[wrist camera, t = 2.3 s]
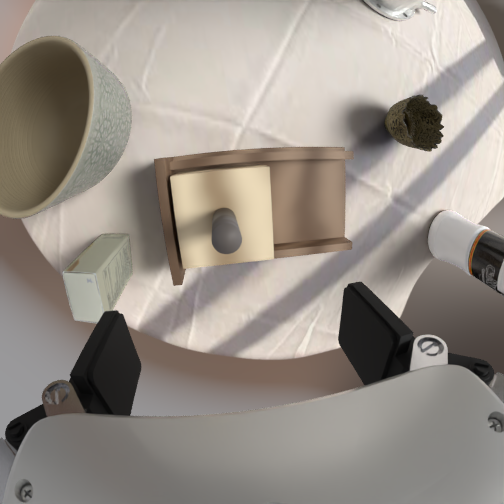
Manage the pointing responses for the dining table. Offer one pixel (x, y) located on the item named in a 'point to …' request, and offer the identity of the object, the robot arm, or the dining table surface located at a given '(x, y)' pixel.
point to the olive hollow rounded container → (415, 123)
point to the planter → (57, 124)
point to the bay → (274, 197)
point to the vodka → (468, 248)
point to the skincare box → (98, 277)
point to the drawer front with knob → (223, 215)
